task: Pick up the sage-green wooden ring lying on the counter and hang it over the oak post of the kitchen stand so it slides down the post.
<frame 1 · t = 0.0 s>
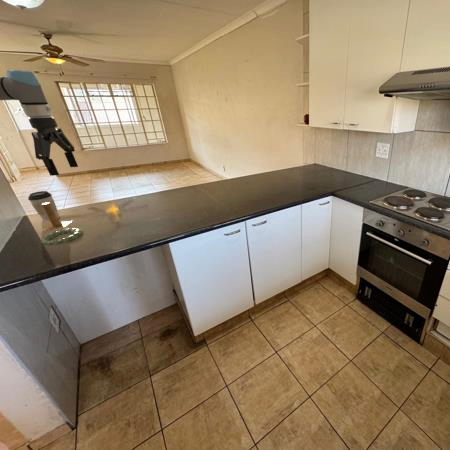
hand: (65, 170, 106), 31 cm above the countertop, tool pointing down, fingers open, 13 cm apart
stand: (58, 228, 124), on the countertop
coffee cup: (51, 218, 134), on the countertop
hang ring: (62, 237, 113), point 1 cm above the countertop
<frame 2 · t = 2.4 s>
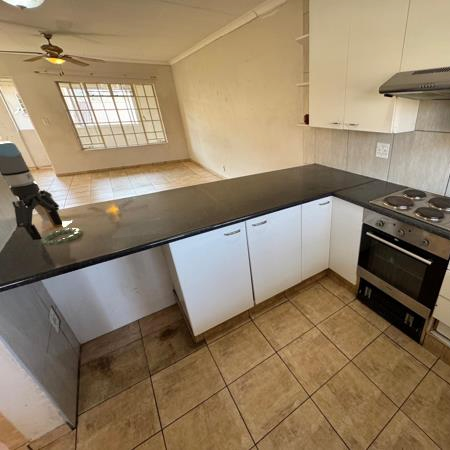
hand: (49, 231, 105), 8 cm above the countertop, tool pointing down, fingers open, 13 cm apart
nothing on the countertop moved.
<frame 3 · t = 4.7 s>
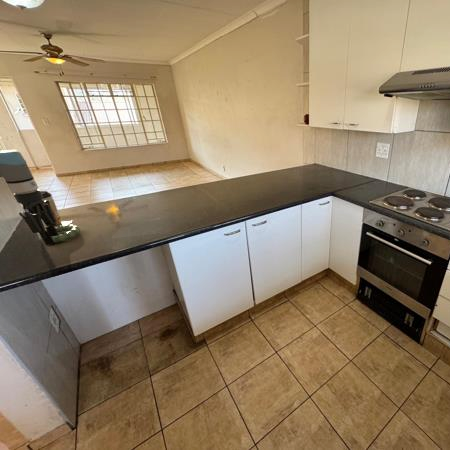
hand: (53, 241, 108), 2 cm above the countertop, tool pointing down, fingers closed on hang ring, 3 cm apart
hang ring: (60, 233, 112), point 4 cm above the countertop, touching gripper
everything else where it was.
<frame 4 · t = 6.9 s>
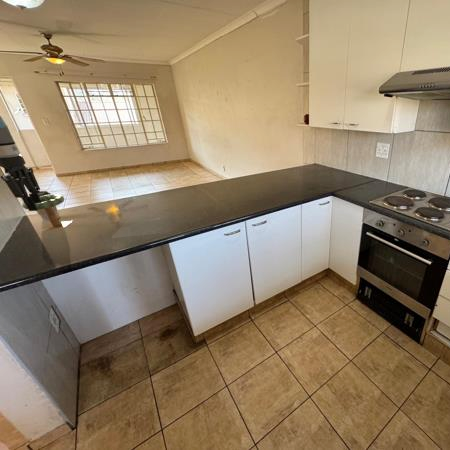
hand: (36, 208, 110), 14 cm above the countertop, tool pointing down, fingers closed on hang ring, 3 cm apart
hang ring: (44, 201, 114), point 16 cm above the countertop, touching gripper
everything else where it was.
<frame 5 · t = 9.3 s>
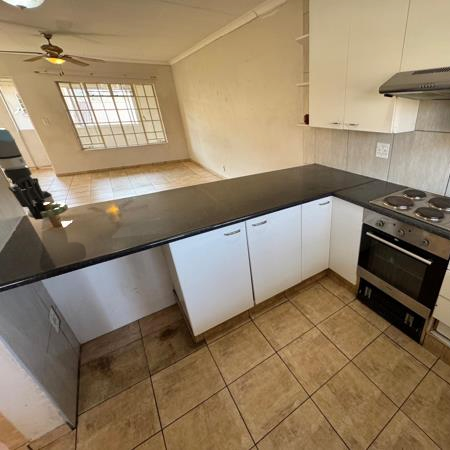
hand: (42, 217, 115), 9 cm above the countertop, tool pointing down, fingers closed on hang ring, 3 cm apart
hang ring: (48, 210, 119), point 10 cm above the countertop, touching gripper
everything else where it was.
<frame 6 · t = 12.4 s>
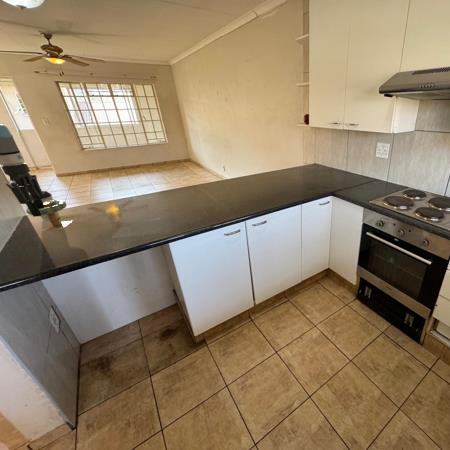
hand: (40, 214, 114), 10 cm above the countertop, tool pointing down, fingers closed on hang ring, 3 cm apart
hang ring: (47, 207, 119), point 12 cm above the countertop, touching gripper
everything else where it was.
when the fingers open (12 cm above the countertop, at t = 15.4 s): hang ring drops 10 cm, resting on stand.
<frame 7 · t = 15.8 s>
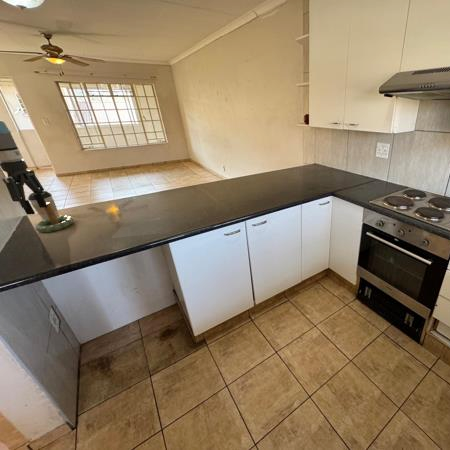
hand: (37, 210, 113), 12 cm above the countertop, tool pointing down, fingers open, 7 cm apart
hang ring: (55, 223, 122), point 3 cm above the countertop, touching stand
everything else where it was.
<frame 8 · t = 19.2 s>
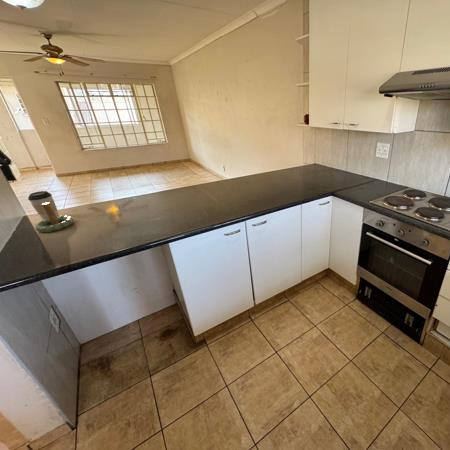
nothing on the countertop moved.
at the end: hang ring 0.7 cm from the stand (horizontally); hang ring point 3.0 cm above the countertop; the gripper is holding nothing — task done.
